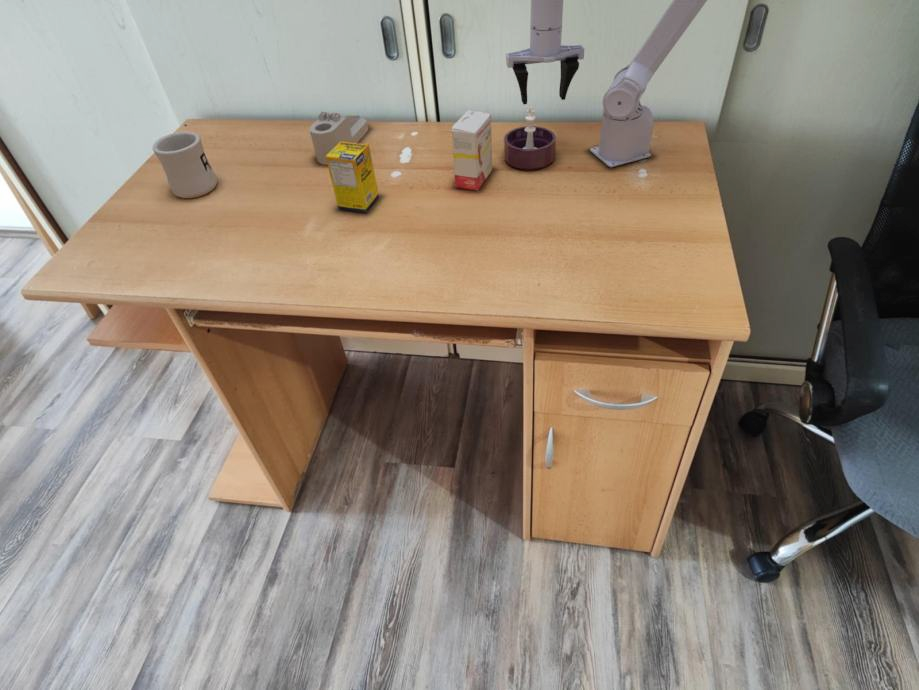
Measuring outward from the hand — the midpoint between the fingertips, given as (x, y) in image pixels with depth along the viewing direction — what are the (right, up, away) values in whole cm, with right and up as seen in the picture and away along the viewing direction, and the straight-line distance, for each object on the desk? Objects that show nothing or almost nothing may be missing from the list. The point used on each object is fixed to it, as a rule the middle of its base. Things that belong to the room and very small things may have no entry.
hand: (543, 100), depth 116 cm
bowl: (-2, -11, +3) cm, 11 cm away
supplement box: (-36, -22, -4) cm, 42 cm away
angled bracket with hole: (-42, -5, +13) cm, 44 cm away
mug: (-71, -16, +5) cm, 73 cm away
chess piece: (-2, -10, +3) cm, 11 cm away
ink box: (-14, -16, -1) cm, 21 cm away
